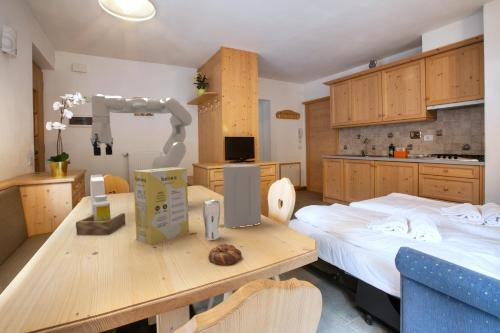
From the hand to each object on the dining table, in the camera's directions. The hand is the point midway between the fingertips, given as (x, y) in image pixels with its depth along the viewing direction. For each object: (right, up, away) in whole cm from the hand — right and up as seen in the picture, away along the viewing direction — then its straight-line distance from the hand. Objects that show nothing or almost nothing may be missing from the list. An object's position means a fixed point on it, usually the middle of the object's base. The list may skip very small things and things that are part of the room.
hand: (103, 155), depth 127 cm
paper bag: (+67, -33, -5) cm, 75 cm away
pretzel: (+65, -37, -42) cm, 85 cm away
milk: (-12, -32, +17) cm, 39 cm away
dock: (+6, -34, -11) cm, 37 cm away
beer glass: (+58, -35, -23) cm, 71 cm away
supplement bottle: (+6, -32, -11) cm, 34 cm away
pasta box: (+37, -35, -20) cm, 55 cm away
